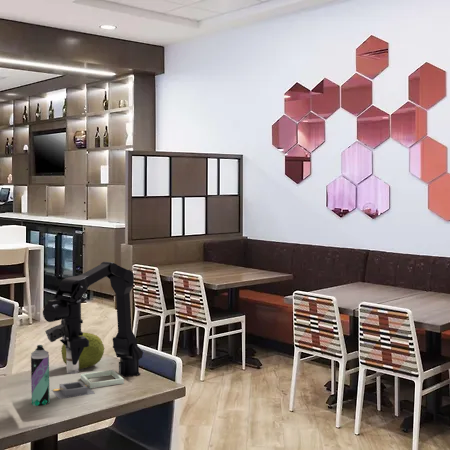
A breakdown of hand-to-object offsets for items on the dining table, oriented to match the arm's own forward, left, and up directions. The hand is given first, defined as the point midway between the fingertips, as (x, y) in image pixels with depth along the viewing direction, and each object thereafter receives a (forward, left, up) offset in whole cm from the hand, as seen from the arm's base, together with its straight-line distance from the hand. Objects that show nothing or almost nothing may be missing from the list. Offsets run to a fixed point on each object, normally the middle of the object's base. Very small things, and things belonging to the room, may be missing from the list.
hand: (72, 362), depth 218 cm
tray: (-12, -7, -11) cm, 18 cm away
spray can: (+12, +6, -12) cm, 18 cm away
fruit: (-12, -31, -12) cm, 35 cm away
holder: (0, 0, -11) cm, 11 cm away
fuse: (0, 0, -3) cm, 3 cm away
